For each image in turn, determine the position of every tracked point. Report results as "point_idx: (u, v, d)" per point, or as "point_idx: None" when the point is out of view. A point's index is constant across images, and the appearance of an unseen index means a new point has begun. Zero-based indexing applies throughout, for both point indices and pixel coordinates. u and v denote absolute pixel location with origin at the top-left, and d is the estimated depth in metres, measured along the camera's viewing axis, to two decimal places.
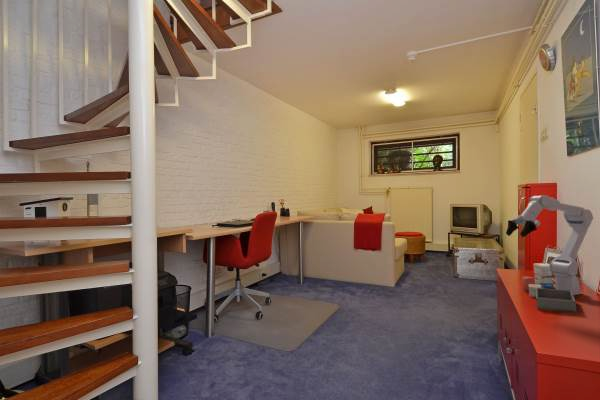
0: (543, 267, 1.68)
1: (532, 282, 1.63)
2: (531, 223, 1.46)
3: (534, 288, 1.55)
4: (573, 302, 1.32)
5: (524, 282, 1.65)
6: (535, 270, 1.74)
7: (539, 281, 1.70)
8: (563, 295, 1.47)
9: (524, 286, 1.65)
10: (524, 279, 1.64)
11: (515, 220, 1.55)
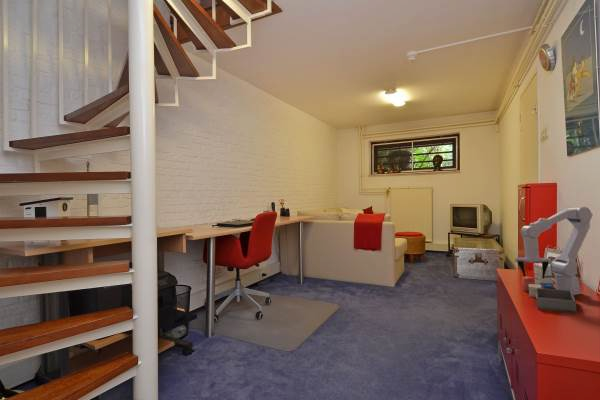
0: None
1: (532, 282, 1.63)
2: None
3: (534, 288, 1.55)
4: (573, 302, 1.32)
5: (524, 282, 1.65)
6: (535, 270, 1.74)
7: (539, 281, 1.70)
8: (563, 295, 1.47)
9: (524, 286, 1.65)
10: (524, 279, 1.64)
11: (524, 260, 1.58)
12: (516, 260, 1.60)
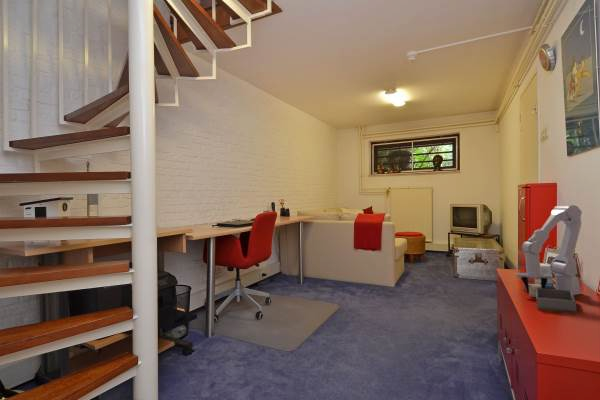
0: (543, 267, 1.68)
1: (532, 282, 1.63)
2: (546, 281, 1.53)
3: (534, 288, 1.55)
4: (573, 302, 1.32)
5: None
6: None
7: (539, 281, 1.70)
8: (563, 295, 1.47)
9: (524, 286, 1.65)
10: None
11: (525, 276, 1.58)
12: (517, 276, 1.60)
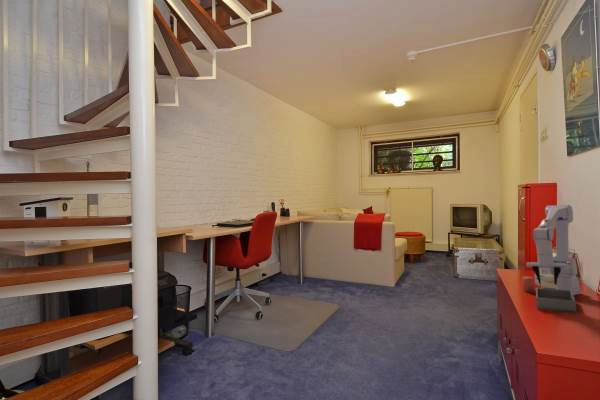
0: None
1: (532, 282, 1.63)
2: (560, 270, 1.40)
3: (546, 278, 1.42)
4: (573, 302, 1.32)
5: (524, 282, 1.65)
6: None
7: None
8: (563, 295, 1.47)
9: (524, 286, 1.65)
10: (524, 279, 1.64)
11: (536, 265, 1.45)
12: (528, 265, 1.47)
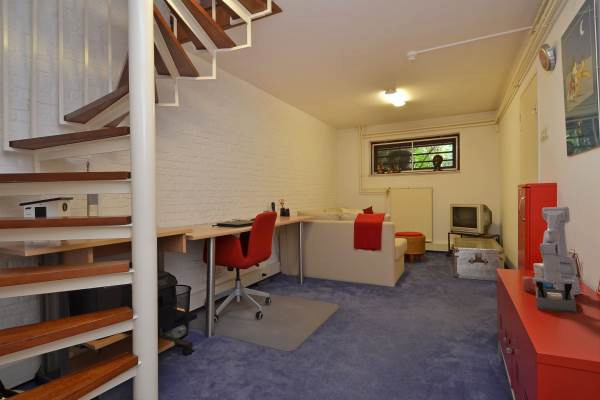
0: (543, 267, 1.68)
1: (532, 282, 1.63)
2: (571, 287, 1.34)
3: (554, 297, 1.37)
4: (573, 302, 1.32)
5: (524, 282, 1.65)
6: (535, 270, 1.74)
7: None
8: (563, 295, 1.47)
9: (524, 286, 1.65)
10: (524, 279, 1.64)
11: None
12: (534, 281, 1.42)
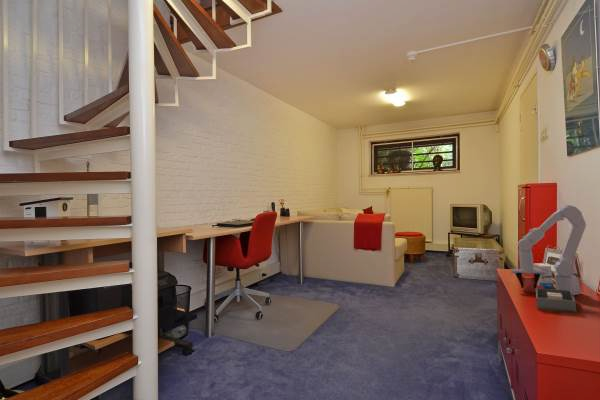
0: (543, 267, 1.68)
1: (532, 282, 1.63)
2: (539, 277, 1.61)
3: (554, 297, 1.37)
4: (573, 302, 1.32)
5: (524, 282, 1.65)
6: None
7: (539, 281, 1.70)
8: (563, 295, 1.47)
9: (524, 286, 1.65)
10: (524, 279, 1.64)
11: (519, 272, 1.66)
12: (512, 272, 1.68)
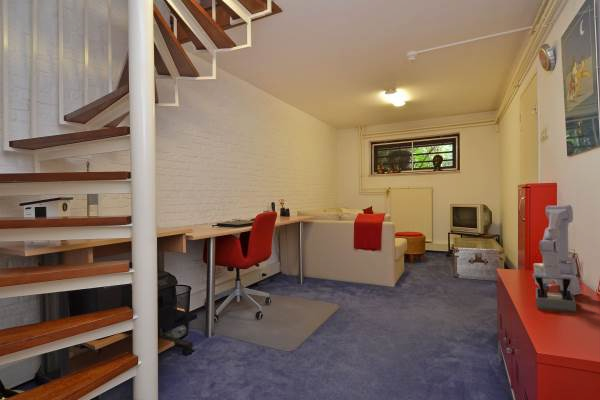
0: (543, 267, 1.68)
1: (558, 290, 1.43)
2: (569, 282, 1.41)
3: (554, 297, 1.37)
4: (573, 302, 1.32)
5: (549, 290, 1.45)
6: (535, 270, 1.74)
7: None
8: (563, 295, 1.47)
9: None
10: (549, 287, 1.45)
11: (543, 276, 1.47)
12: (534, 276, 1.49)
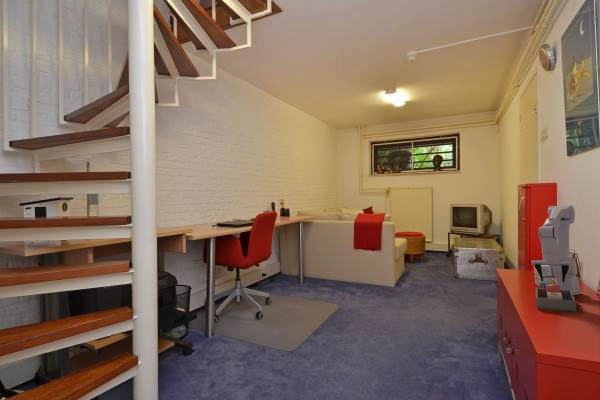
0: (543, 267, 1.68)
1: (558, 290, 1.43)
2: (568, 268, 1.41)
3: (554, 297, 1.37)
4: (573, 302, 1.32)
5: (549, 290, 1.45)
6: (535, 270, 1.74)
7: (539, 281, 1.70)
8: (563, 295, 1.47)
9: None
10: (549, 287, 1.45)
11: (541, 263, 1.47)
12: (533, 263, 1.49)
